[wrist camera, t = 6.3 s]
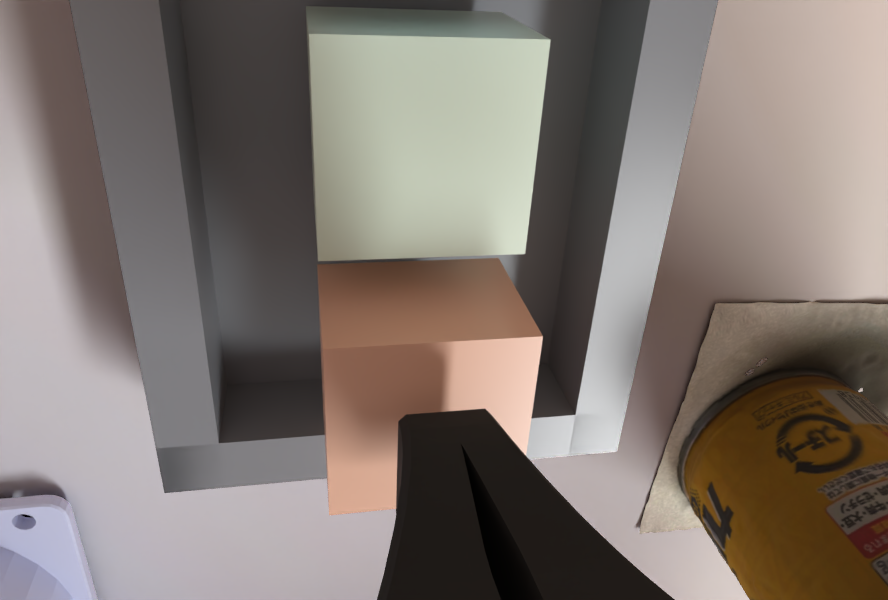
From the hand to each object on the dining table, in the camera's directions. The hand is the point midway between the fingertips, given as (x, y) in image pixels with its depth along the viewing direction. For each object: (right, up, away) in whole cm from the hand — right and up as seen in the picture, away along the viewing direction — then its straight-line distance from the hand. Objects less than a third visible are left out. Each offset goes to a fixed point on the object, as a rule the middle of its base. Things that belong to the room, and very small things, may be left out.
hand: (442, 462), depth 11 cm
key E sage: (-1, +6, +2) cm, 6 cm away
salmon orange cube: (-1, +2, +3) cm, 4 cm away
